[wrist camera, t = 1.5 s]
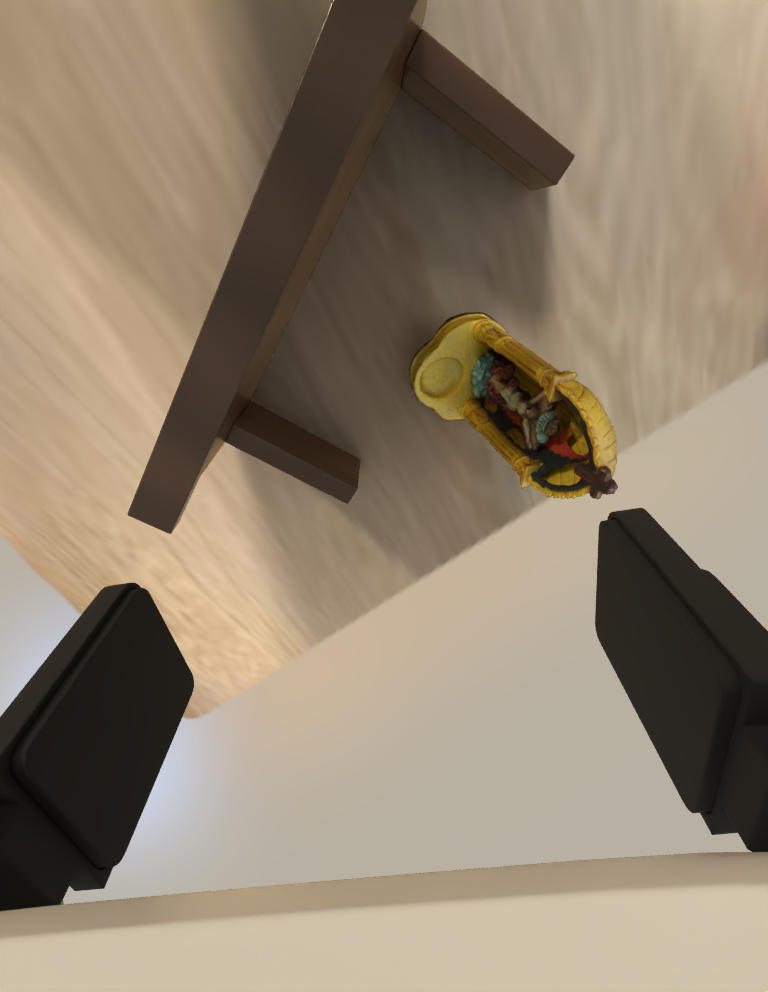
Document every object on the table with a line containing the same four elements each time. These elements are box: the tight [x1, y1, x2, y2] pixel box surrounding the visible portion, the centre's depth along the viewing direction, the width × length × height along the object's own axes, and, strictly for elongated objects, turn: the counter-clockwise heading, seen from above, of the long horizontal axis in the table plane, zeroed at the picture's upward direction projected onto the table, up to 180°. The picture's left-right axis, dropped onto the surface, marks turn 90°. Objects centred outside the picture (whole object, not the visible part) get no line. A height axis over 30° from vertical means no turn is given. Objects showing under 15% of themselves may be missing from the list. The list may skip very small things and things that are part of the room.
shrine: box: [409, 312, 618, 499], centre depth 30 cm, size 12×8×15 cm
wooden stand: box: [128, 0, 575, 534], centre depth 28 cm, size 28×12×15 cm, turn 149°
